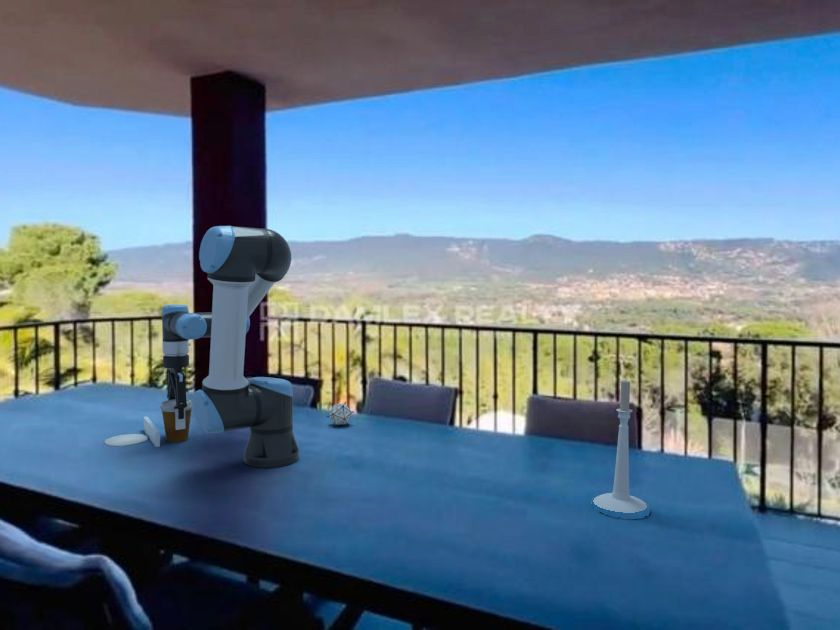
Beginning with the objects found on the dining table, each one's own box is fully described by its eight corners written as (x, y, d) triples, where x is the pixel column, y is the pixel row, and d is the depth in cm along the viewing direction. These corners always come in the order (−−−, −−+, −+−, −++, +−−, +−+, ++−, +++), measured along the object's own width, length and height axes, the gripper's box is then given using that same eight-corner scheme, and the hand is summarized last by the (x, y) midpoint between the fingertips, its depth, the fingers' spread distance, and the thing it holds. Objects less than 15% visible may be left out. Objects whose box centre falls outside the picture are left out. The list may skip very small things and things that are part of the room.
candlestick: (604, 493, 145) (608, 372, 142) (658, 507, 136) (663, 379, 134) (582, 509, 135) (586, 379, 133) (638, 525, 127) (644, 386, 124)
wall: (160, 446, 178) (159, 431, 177) (155, 447, 177) (155, 432, 177) (147, 429, 196) (147, 416, 195) (143, 430, 195) (143, 416, 195)
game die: (344, 437, 204) (351, 418, 198) (321, 427, 204) (327, 408, 198) (352, 419, 211) (359, 400, 206) (330, 410, 211) (336, 391, 205)
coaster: (150, 442, 182) (150, 441, 182) (106, 448, 175) (106, 447, 175) (144, 433, 192) (144, 432, 192) (102, 438, 185) (102, 437, 185)
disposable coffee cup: (171, 446, 178) (170, 407, 177) (154, 440, 184) (154, 402, 183) (199, 439, 186) (199, 401, 185) (182, 433, 192) (182, 397, 191)
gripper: (197, 358, 176) (198, 431, 178) (181, 349, 194) (182, 416, 196) (170, 359, 172) (171, 435, 173) (156, 350, 190) (157, 419, 192)
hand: (177, 425), depth 185 cm, fingers closed on disposable coffee cup, 9 cm apart
